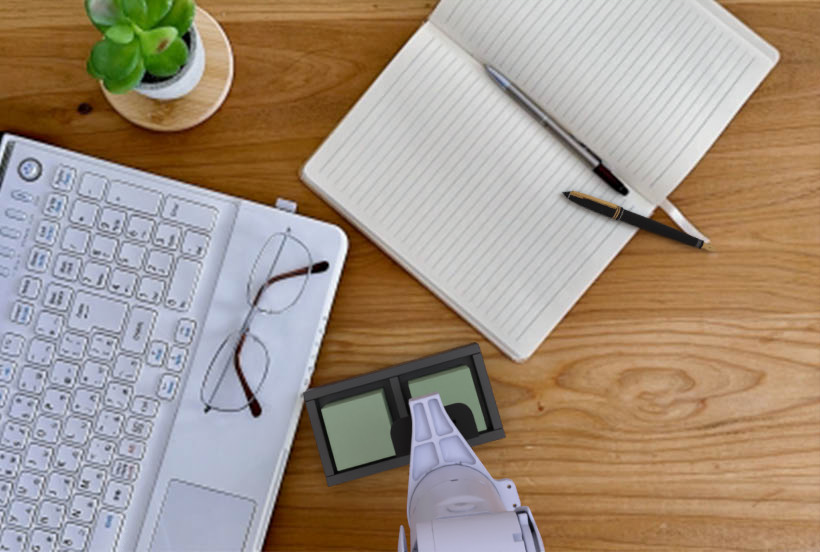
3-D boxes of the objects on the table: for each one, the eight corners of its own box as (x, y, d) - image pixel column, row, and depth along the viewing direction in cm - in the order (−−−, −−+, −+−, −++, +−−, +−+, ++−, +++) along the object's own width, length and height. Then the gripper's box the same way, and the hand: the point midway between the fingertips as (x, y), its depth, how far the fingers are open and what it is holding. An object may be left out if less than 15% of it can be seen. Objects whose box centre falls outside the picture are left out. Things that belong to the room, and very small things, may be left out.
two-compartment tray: (501, 432, 70) (510, 443, 64) (331, 479, 70) (324, 495, 64) (475, 341, 71) (481, 344, 65) (307, 389, 71) (297, 396, 65)
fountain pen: (720, 246, 71) (727, 244, 69) (715, 258, 70) (722, 257, 69) (562, 187, 72) (566, 184, 70) (557, 199, 71) (561, 196, 70)
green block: (480, 420, 70) (487, 429, 64) (424, 436, 70) (425, 446, 64) (464, 363, 70) (469, 367, 65) (408, 379, 70) (408, 384, 65)
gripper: (566, 639, 46) (529, 566, 59) (492, 386, 47) (473, 371, 60) (444, 672, 46) (435, 591, 59) (374, 419, 47) (381, 396, 61)
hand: (448, 482), depth 60 cm, fingers open, 7 cm apart
